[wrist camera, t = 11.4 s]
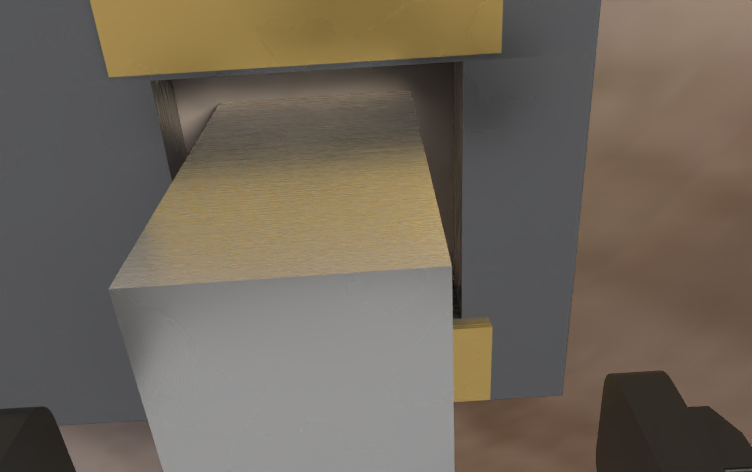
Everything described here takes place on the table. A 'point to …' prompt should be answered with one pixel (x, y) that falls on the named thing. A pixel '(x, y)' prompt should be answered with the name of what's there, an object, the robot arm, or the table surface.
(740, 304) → the table surface
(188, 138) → the table surface
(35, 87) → the fixture plate
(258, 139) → the steel block
